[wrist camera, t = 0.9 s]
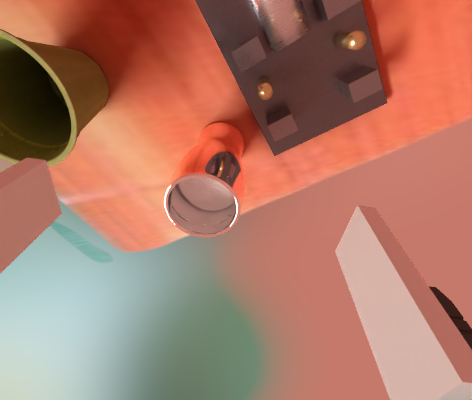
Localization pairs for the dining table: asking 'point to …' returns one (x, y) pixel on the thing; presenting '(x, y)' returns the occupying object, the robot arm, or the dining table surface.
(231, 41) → the steam engine
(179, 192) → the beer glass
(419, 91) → the dining table surface
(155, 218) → the dining table surface
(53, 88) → the plant pot
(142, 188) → the dining table surface
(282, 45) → the tube
